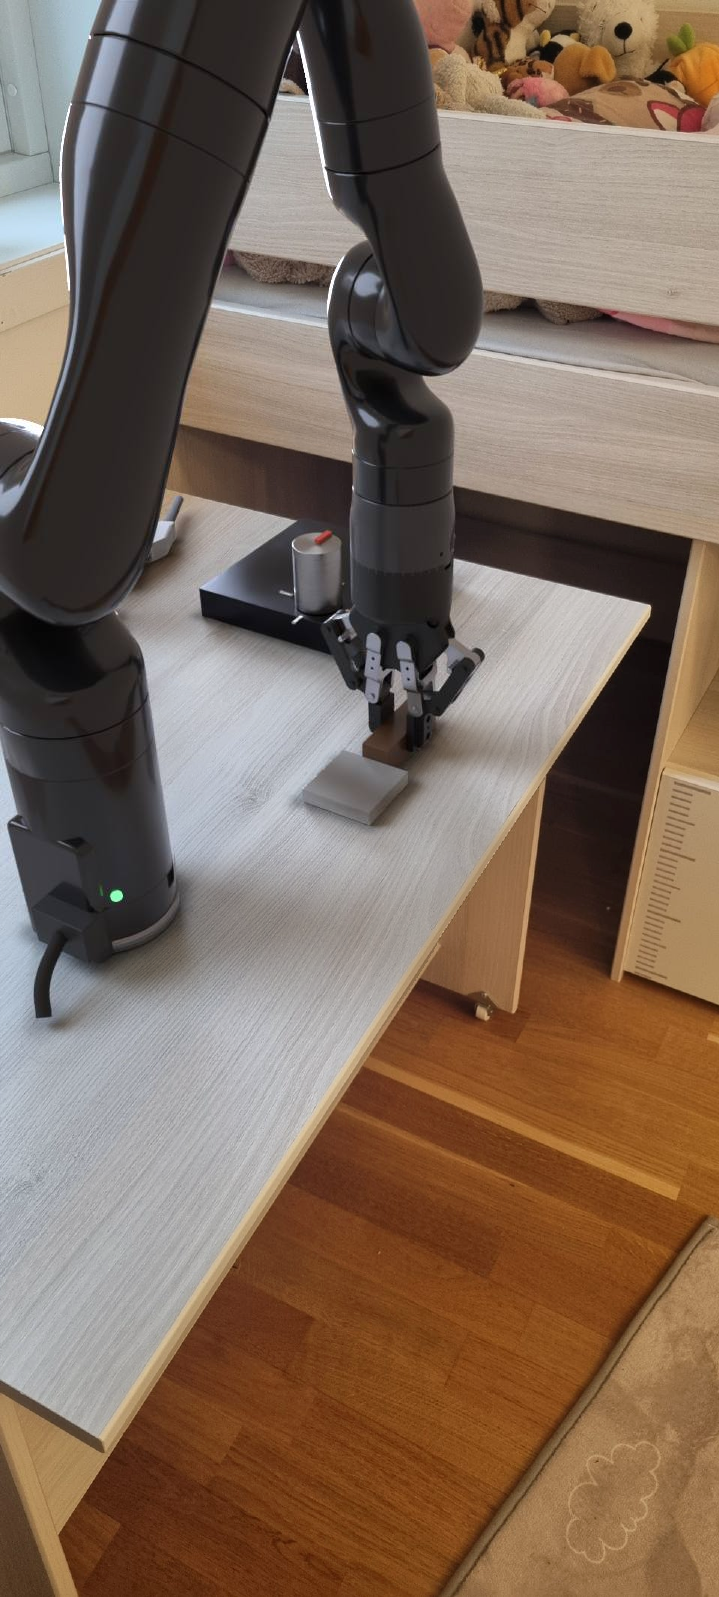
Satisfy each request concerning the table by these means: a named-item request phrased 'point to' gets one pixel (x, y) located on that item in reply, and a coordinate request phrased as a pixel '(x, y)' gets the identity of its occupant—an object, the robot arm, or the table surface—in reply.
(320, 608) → the hob knob
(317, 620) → the hob
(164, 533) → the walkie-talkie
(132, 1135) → the table surface
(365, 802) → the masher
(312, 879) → the table surface
